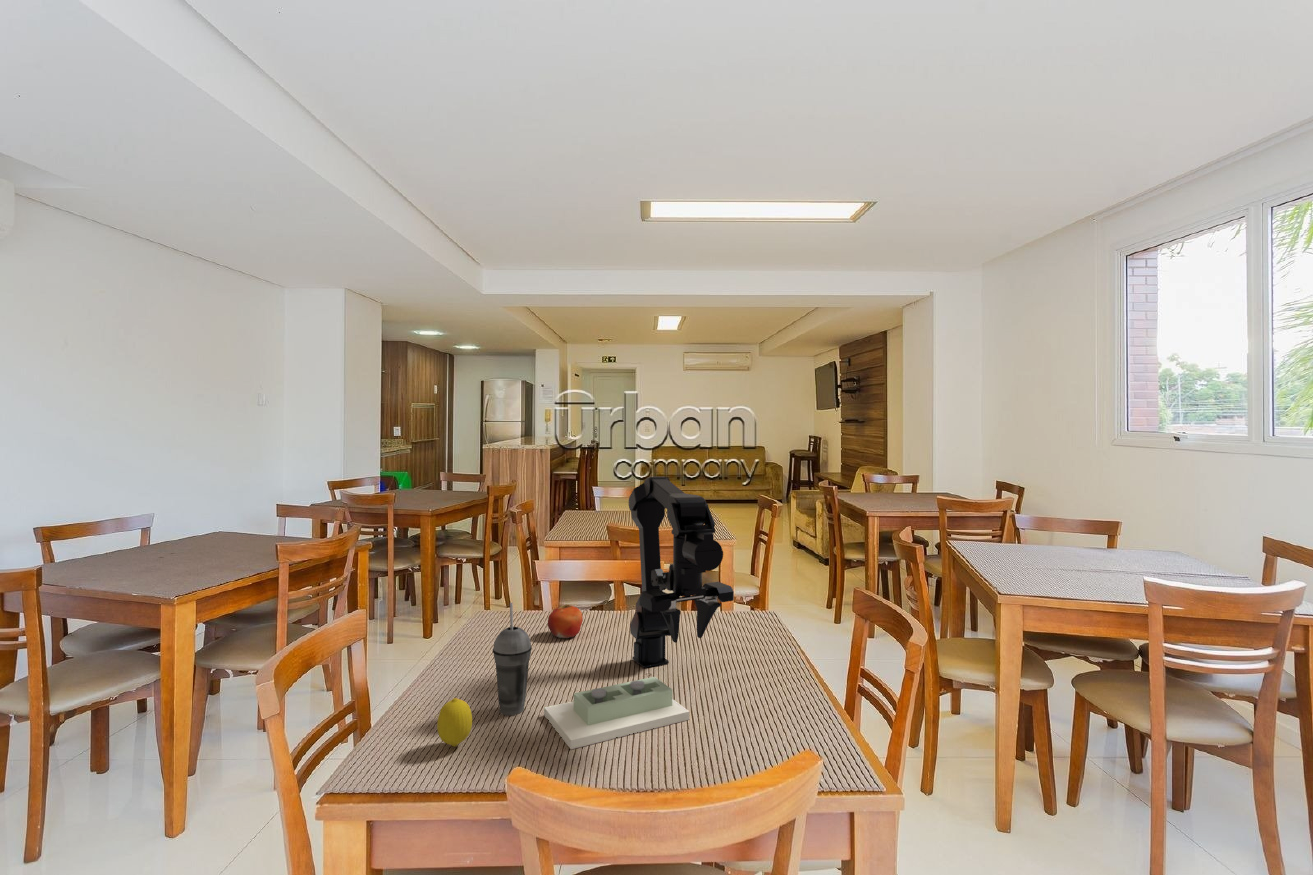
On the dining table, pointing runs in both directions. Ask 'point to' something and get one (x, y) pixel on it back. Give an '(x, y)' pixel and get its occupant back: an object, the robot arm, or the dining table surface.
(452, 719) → the lemon
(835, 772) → the dining table surface
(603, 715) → the panel
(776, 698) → the dining table surface
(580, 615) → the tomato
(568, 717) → the board
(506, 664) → the beverage cup
